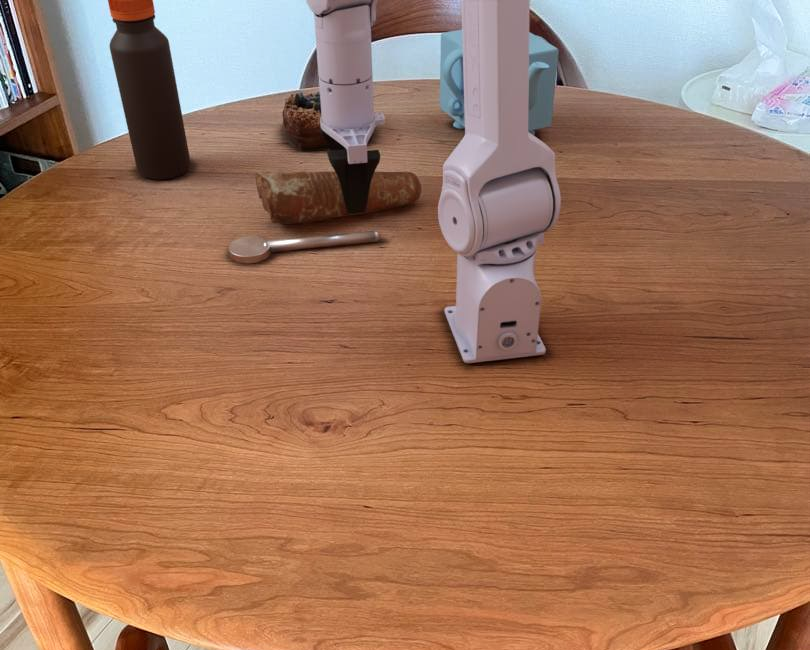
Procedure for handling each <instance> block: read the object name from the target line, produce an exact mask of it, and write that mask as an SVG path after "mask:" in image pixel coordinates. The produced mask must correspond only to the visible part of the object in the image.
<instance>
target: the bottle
mask: <svg viewBox="0 0 810 650" xmlns="http://www.w3.org/2000/svg"><path fill="white" fill-rule="evenodd" d="M107 4H108V9H109V13H110V16H111V19H112V22H113V24H115V26H116V31H115V32H114V34H113V35H112V37H111V38H110V41H109V52H110V56H111V60H112V65H113V69H114V73H115V74H114V75H115V78H116V82H117V87H118V91H119V96H120V101H121V104H122V110H123V114H124V118H125V123H126V127H127V132H128V135H129V140H130V145H131V149H132V154H133V158H134V163H135V167H136V170H137V172H138V174H139V175H140V176H142V177H144V178H146V179H148V180H149V179H150V180H156V181H161V180H171V179H175V178H178V177H182V176H183V175H185V174H186V173H187V172H188V171H189V170H190V169H191V157H190V151H189V146H188V140H187V134H186V129H185V124H184V118H183V113H182V106H181V102H180V96H179V91H178V85H177V80H176V75H175V74H176V73H175V69H174V68H175V67H174V63H173V58H172V51H171V47H170V41H169V39H168V37H167V36H166V35H165V34H164V32H162V31H161V30H160V29H158V27H156V26H155V20H156V10H155V3H154V0H107Z"/></svg>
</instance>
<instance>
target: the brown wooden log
mask: <svg viewBox="0 0 810 650" xmlns="http://www.w3.org/2000/svg"><path fill="white" fill-rule="evenodd" d="M255 185H256V191H257V193H258V197H259V199H260V200H261V203H262V207H263V209H264V211H265V212H267V214H268V215H269V218H270V221H271V223H272V224H280V225H293V224H303V223H309V222H316V221H322V220H329V219H332V218H333V219H334V218H335V219H336V218H339V217H340V218H341V217H349V216H354V215H363V214H368V213H373V212H378V211H382V210H388V209H395V208H398V207H403V206H407V205H412V204H415V203H416V202H417V201H418V200H419V199H421V198H420V197H421V195H422V185H421V182H420V179H419V178H418V176H417V175H416V174H415V173H414V172H411V171H375V172H374V174H373V177H372V180H371V184H370V189H369V196H368V202H367V207H366V211H365V212H362V213H352V214H348V213H347V210H346V207H345V204H344V200H343V196H342V191H341V186H340V182H339V179H338V176H337V174H336V172H335V170H334V171H301V170H300V171H277V172H257V173H255Z"/></svg>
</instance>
